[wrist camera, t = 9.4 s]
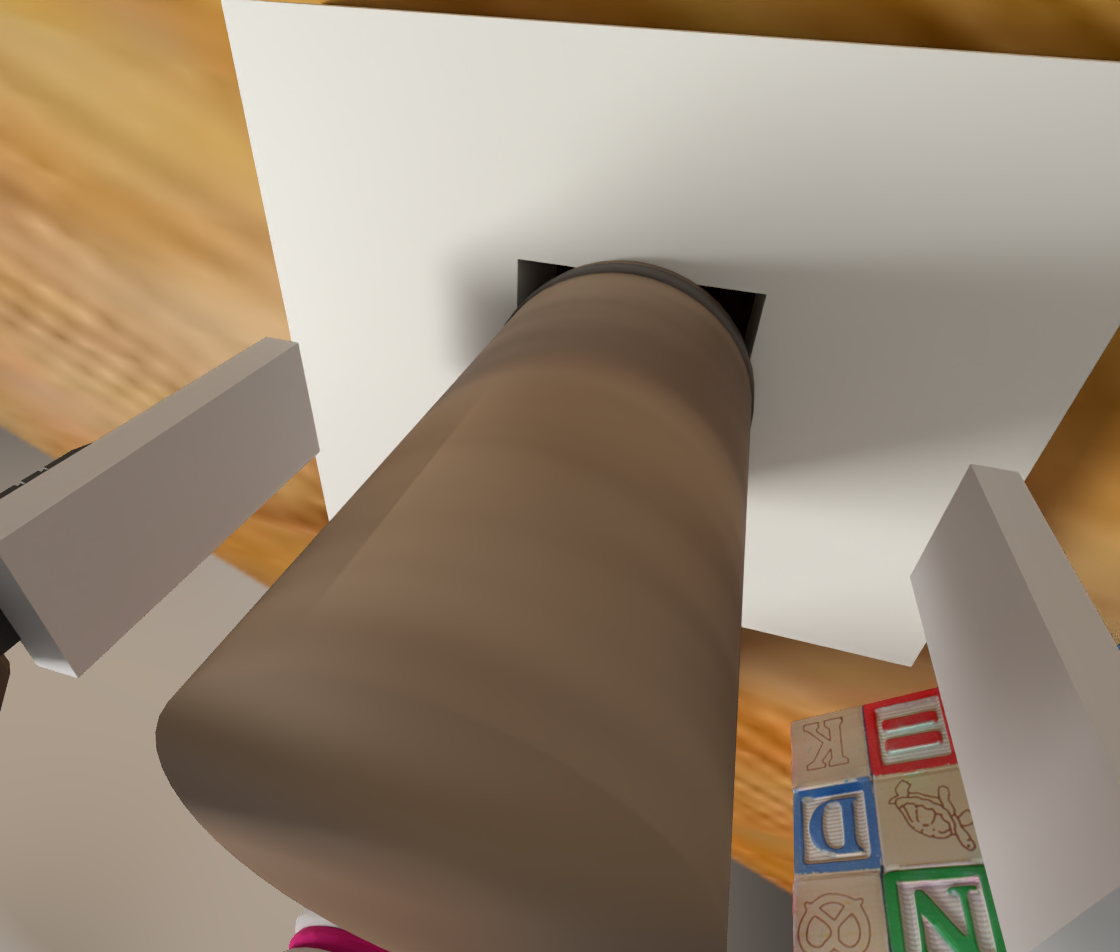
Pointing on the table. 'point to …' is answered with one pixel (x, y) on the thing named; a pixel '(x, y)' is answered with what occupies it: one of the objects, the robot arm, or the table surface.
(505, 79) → the cream board
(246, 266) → the table surface
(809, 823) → the stack of blocks
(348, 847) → the walnut peg
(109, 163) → the table surface
